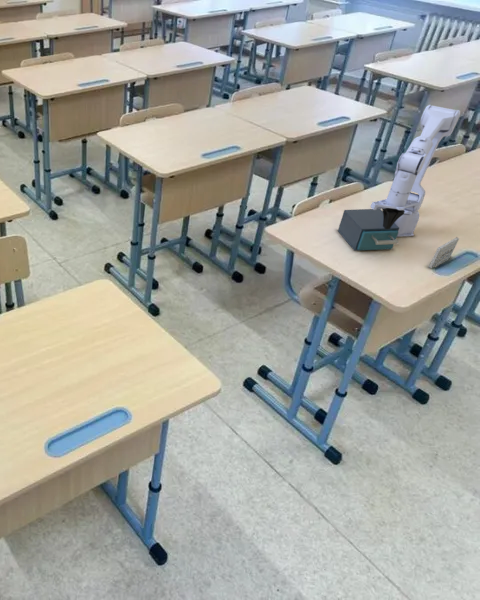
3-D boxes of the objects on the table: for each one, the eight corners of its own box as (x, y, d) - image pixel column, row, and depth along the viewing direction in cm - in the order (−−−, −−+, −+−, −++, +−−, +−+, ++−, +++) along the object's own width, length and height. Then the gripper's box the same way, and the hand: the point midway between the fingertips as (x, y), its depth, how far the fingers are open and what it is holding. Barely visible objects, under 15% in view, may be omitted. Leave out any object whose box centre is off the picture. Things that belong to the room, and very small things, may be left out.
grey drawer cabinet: (391, 249, 191) (399, 227, 186) (354, 250, 190) (361, 229, 185) (372, 229, 202) (380, 208, 197) (337, 230, 201) (344, 209, 196)
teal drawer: (399, 256, 186) (406, 239, 181) (365, 258, 185) (371, 240, 181) (374, 230, 199) (380, 214, 195) (342, 231, 199) (348, 215, 195)
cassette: (432, 269, 181) (441, 249, 176) (426, 266, 182) (435, 247, 178) (451, 258, 186) (461, 238, 182) (446, 255, 188) (455, 236, 183)
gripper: (384, 196, 171) (370, 234, 179) (429, 195, 171) (414, 232, 180) (373, 186, 176) (360, 223, 185) (417, 185, 177) (402, 222, 185)
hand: (386, 227), depth 182 cm, fingers closed
